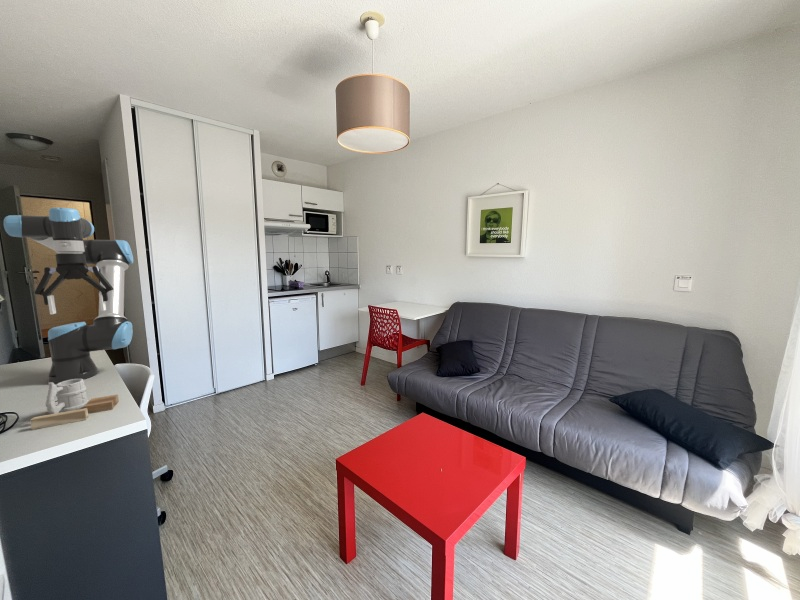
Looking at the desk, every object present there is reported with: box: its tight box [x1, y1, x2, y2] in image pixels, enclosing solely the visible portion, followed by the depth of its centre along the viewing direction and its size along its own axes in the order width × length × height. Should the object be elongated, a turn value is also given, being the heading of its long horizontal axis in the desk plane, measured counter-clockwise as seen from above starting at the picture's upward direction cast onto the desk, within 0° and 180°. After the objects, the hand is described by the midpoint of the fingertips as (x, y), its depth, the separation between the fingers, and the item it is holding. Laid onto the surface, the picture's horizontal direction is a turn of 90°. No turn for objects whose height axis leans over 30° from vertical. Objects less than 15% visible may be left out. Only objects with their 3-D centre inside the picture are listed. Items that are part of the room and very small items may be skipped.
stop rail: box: [29, 408, 89, 430], centre depth 99 cm, size 2×12×3 cm, turn 118°
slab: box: [84, 394, 119, 415], centre depth 110 cm, size 7×7×3 cm
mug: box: [45, 379, 90, 415], centre depth 106 cm, size 8×12×12 cm, turn 3°
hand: (79, 312), depth 118 cm, fingers open, 13 cm apart
